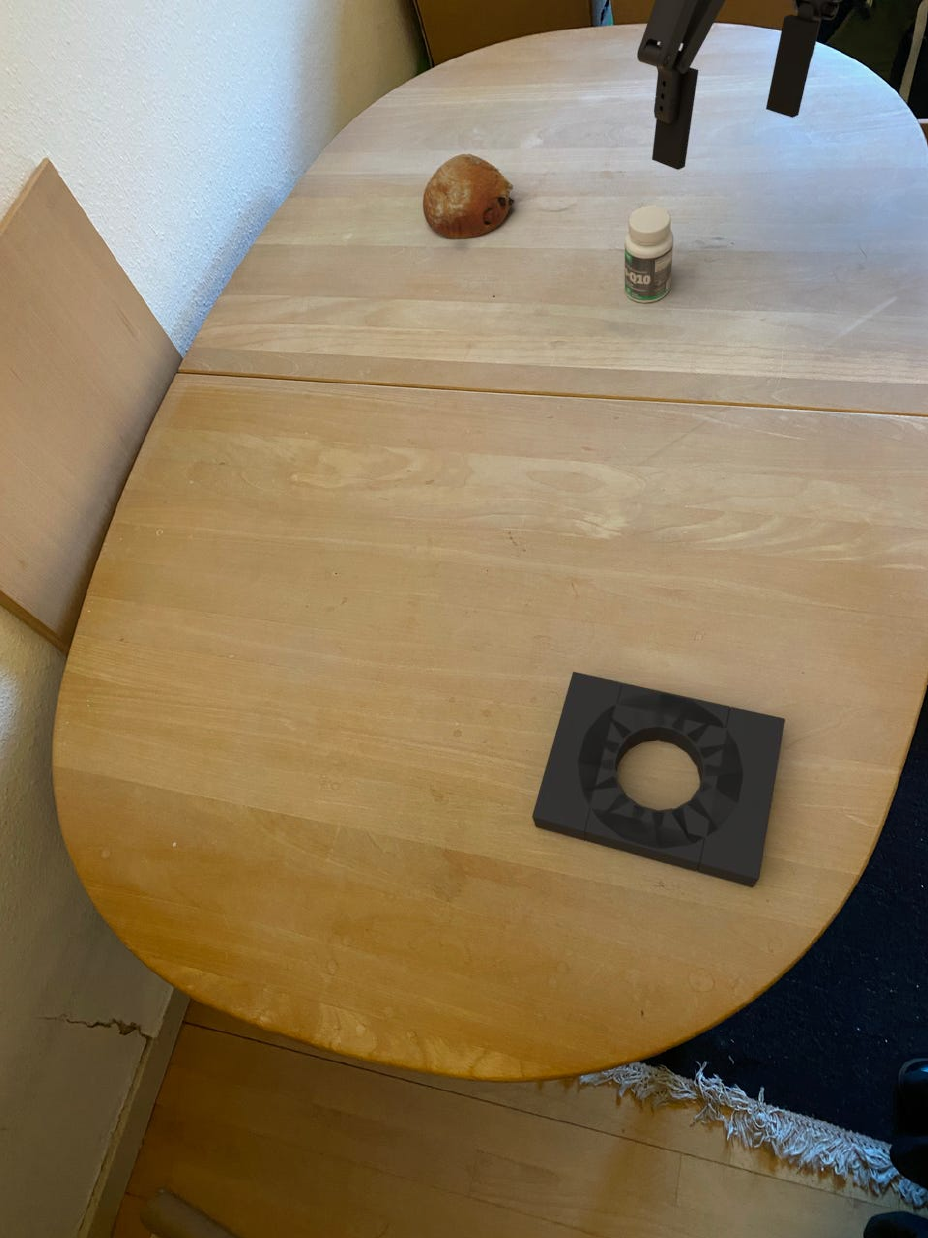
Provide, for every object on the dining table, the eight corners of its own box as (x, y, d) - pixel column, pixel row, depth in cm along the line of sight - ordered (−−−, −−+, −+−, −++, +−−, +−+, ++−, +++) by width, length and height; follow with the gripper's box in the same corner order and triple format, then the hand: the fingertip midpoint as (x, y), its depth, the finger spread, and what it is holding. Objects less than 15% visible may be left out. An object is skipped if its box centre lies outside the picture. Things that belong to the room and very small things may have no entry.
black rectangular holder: (778, 732, 64) (785, 718, 61) (752, 888, 59) (758, 879, 56) (575, 686, 68) (573, 671, 66) (535, 827, 63) (531, 816, 61)
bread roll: (465, 209, 105) (429, 152, 99) (532, 183, 98) (496, 121, 93) (436, 263, 101) (396, 206, 96) (503, 240, 94) (464, 178, 89)
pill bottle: (615, 288, 89) (614, 218, 81) (650, 266, 89) (653, 195, 82) (643, 311, 87) (645, 241, 79) (679, 288, 87) (685, 217, 80)
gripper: (864, -271, 57) (788, 81, 73) (599, -216, 48) (580, 171, 64) (967, -268, 53) (862, 104, 69) (700, -208, 44) (652, 203, 60)
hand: (727, 137), depth 67 cm, fingers open, 13 cm apart
